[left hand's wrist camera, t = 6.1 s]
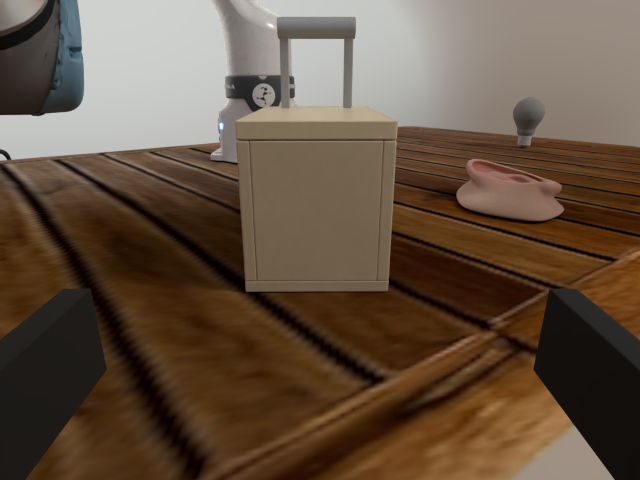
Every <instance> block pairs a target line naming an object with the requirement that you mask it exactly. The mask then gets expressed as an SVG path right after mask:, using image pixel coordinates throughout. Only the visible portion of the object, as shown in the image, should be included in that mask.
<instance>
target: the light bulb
mask: <svg viewBox="0 0 640 480" xmlns="http://www.w3.org/2000/svg"><path fill="white" fill-rule="evenodd" d="M544 114H545V109H544V106H543V104H542V102H541V101H540V100H538V99H535V98H526V99H523V100H521V101H520V102H519V103H518V104H517V105H516V106H515V108H514V111H513V118H514V121H515V123H516V125H517V133H518V138H519V139H518V142H517V144H518V145H519V146H521V147H527V146H529V145H530V143H531V142H530V141H531V140H530V139H531V138H532V135H533V134H534V131H535V128H536V127H537V125H538V124H539V123H540V122H541V120H542V119H543V117H544Z"/></svg>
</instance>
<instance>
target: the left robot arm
mask: <svg viewBox="0 0 640 480" xmlns="http://www.w3.org/2000/svg"><path fill="white" fill-rule="evenodd" d="M81 50H82V44H81V27H80V18H79V10H78V3H77V0H0V115H32V116H41V115H44V114H45V113H57V112H68V111H72V110H74V109H76V108H77V107H78V106H79V105H80V104H81V102H82V99H83V94H84V67H83V57H82V53H81ZM0 154H3V155H4V156H5V157H6V159H7V160H12V159H11V157H10V156H9V154H8V153H7V152H6V151H4V150H1V149H0ZM106 370H107V369H106V364H105V359H104V354H103V349H102V344H101V339H100V334H99V329H98V324H97V319H96V314H95V309H94V304H93V299H92V294H91V289H63V290H62V291H60V292H59V293H58V294H57V295H56V296H54V297H53V298H52V299H51V300H49V301H48V302H47V303H46V304H44V305H43V306H42V307H41V308H39V309H38V310H37V311H36V312H35V313H33V314H32V315H31V316H30V317H28V318H27V319H26V320H25V321H23V322H22V323H21V324H20V325H18V326H17V327H16V328H15V329H14V330H12V331H11V332H10V333H9V334H7V335H6V336H5V337H4V338H2V339H1V340H0V480H25V479H26V478H27V477H28V475H29V474H30V473H31V471H32V470H33V468H34V467H35V466H36V464H37V463H38V462H39V460H40V459H41V458H42V456H43V455H44V454H45V452H46V451H47V450H48V448H49V447H50V446H51V444H52V443H53V441H54V440H55V439H56V437H57V436H58V435H59V433H60V432H61V431H62V429H63V428H64V427H65V425H66V424H67V423H68V421H69V420H70V418H71V417H72V416H73V414H74V413H75V412H76V410H77V409H78V408H79V406H80V405H81V404H82V402H83V401H84V400H85V398H86V397H87V396H88V394H89V393H90V391H91V390H92V389H93V387H94V386H95V385H96V383H97V382H98V381H99V379H100V378H101V377H102V375H103V374H104V373H105V371H106ZM533 370H534V371H535V373H536V374H537V375H538V377H539V378H540V379H541V381H542V382H543V383H544V385H545V386H546V387H547V389H548V390H549V391H550V393H551V394H552V396H553V397H554V398H555V400H556V401H557V402H558V404H559V405H560V406H561V408H562V409H563V410H564V412H565V413H566V414H567V416H568V417H569V418H570V420H571V421H572V423H573V424H574V425H575V427H576V428H577V429H578V431H579V432H580V433H581V435H582V436H583V437H584V439H585V440H586V441H587V443H588V444H589V445H590V447H591V448H592V450H593V451H594V452H595V454H596V455H597V456H598V458H599V459H600V460H601V462H602V463H603V464H604V466H605V467H606V468H607V470H608V471H609V473H610V474H611V475H612V477H613V478H614V479H615V480H640V340H639V339H638V338H636V337H635V336H634V335H633V334H631V333H630V332H629V331H628V330H626V329H625V328H624V327H623V326H622V325H620V324H619V323H618V322H617V321H615V320H614V319H613V318H612V317H610V316H609V315H608V314H607V313H605V312H604V311H603V310H602V309H601V308H599V307H598V306H597V305H596V304H594V303H593V302H592V301H591V300H589V299H588V298H587V297H586V296H584V295H583V294H582V293H581V292H580V291H578V290H577V289H549V294H548V299H547V304H546V309H545V314H544V319H543V324H542V329H541V334H540V339H539V344H538V349H537V354H536V359H535V364H534V369H533Z"/></svg>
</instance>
